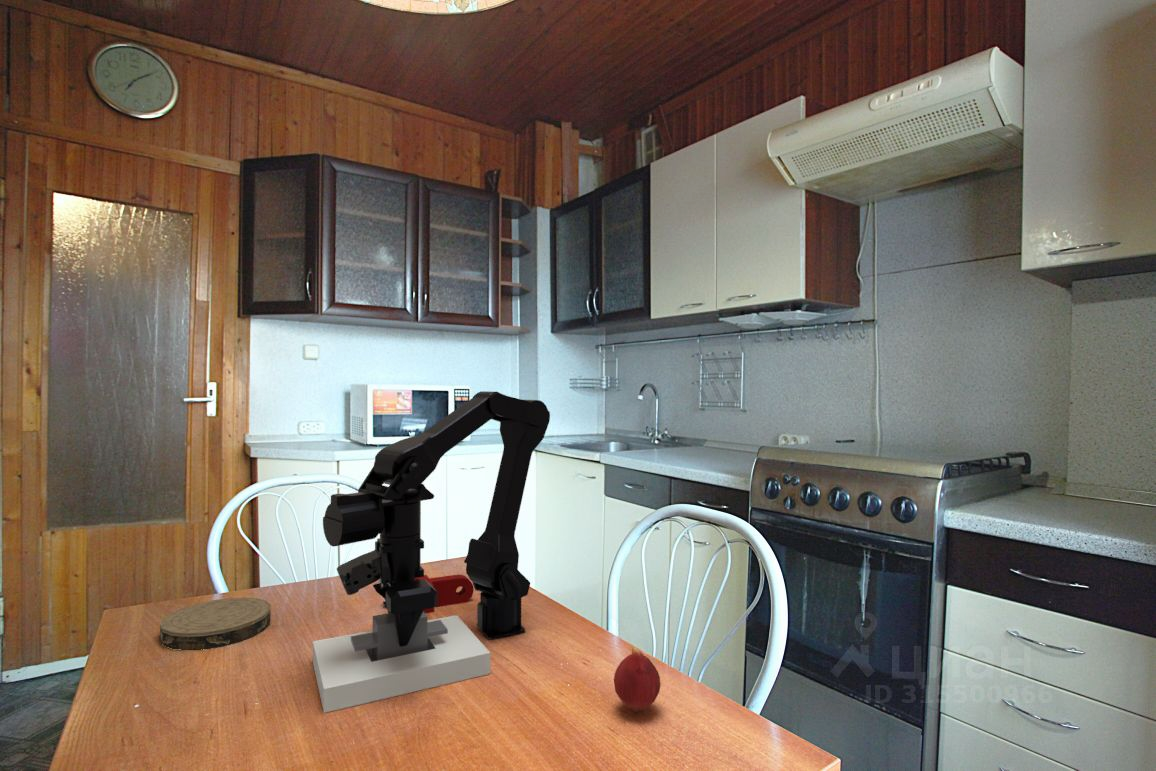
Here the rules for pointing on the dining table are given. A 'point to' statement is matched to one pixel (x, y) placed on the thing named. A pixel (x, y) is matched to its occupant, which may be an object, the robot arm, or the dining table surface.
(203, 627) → the wood slice
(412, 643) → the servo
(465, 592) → the mechanical linkage
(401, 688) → the frame
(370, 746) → the dining table surface
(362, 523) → the robot arm
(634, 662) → the onion
